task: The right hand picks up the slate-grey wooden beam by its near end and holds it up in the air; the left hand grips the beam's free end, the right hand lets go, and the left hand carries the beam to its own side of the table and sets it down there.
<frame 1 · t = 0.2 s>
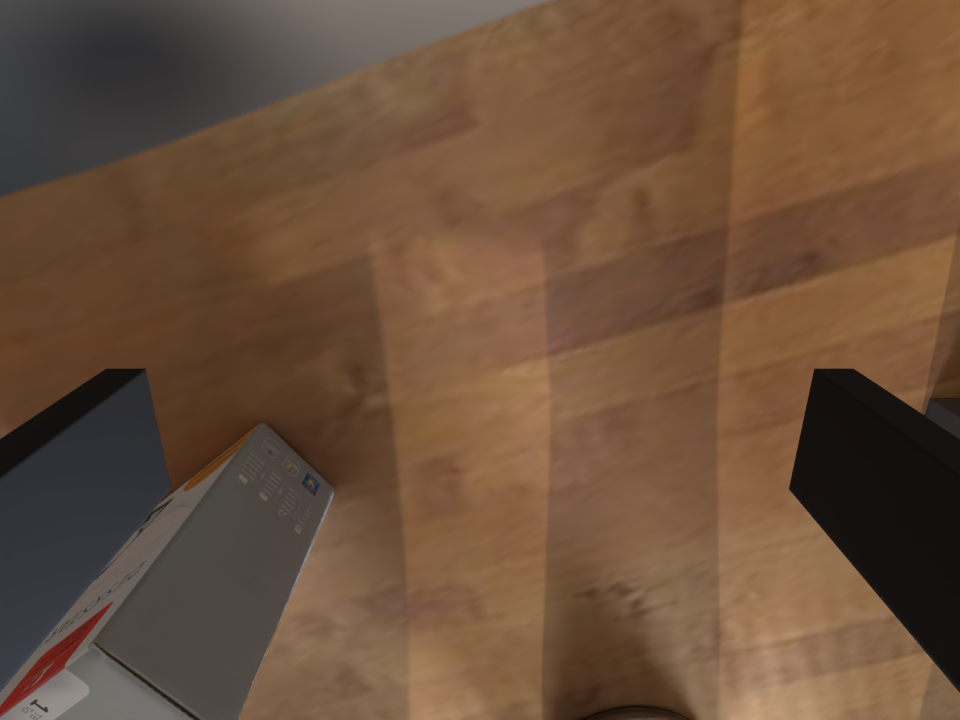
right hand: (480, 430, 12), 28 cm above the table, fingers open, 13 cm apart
hard drive box: (228, 509, 46), on the table
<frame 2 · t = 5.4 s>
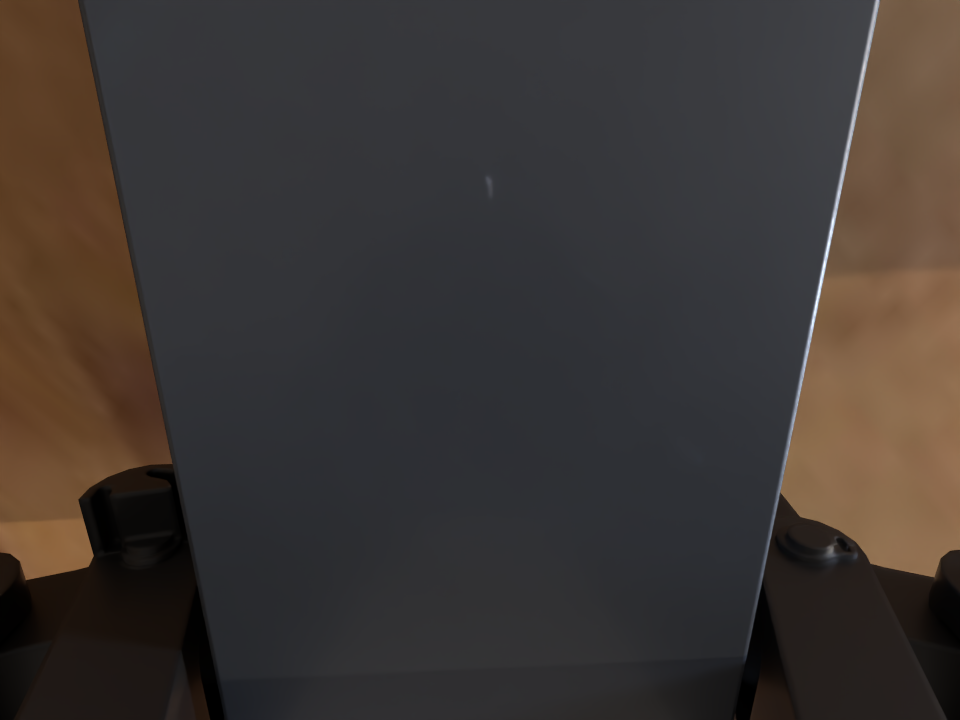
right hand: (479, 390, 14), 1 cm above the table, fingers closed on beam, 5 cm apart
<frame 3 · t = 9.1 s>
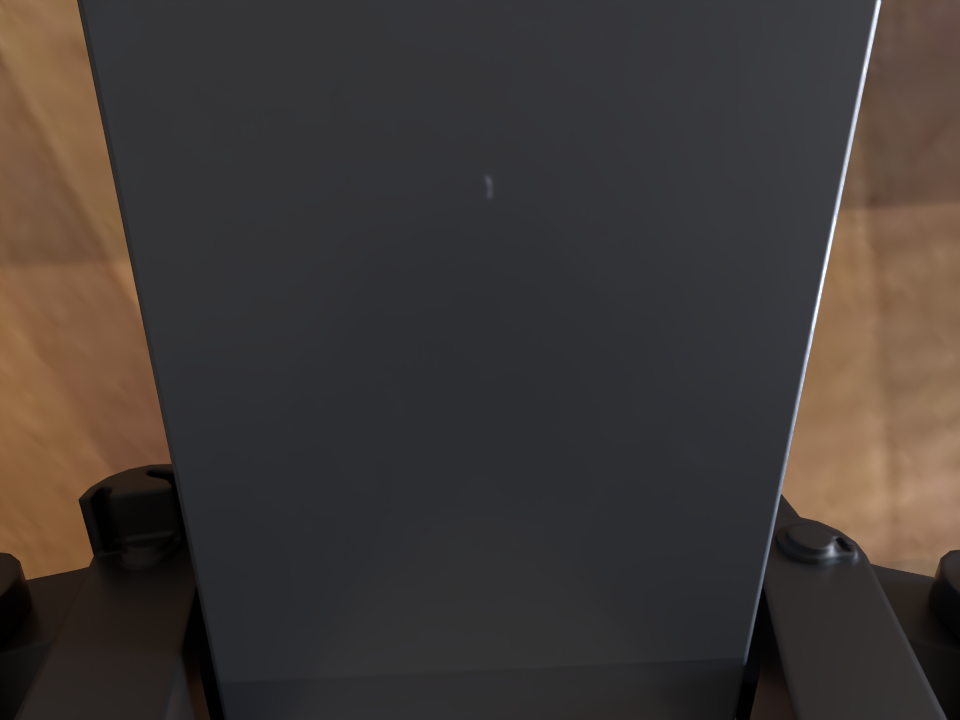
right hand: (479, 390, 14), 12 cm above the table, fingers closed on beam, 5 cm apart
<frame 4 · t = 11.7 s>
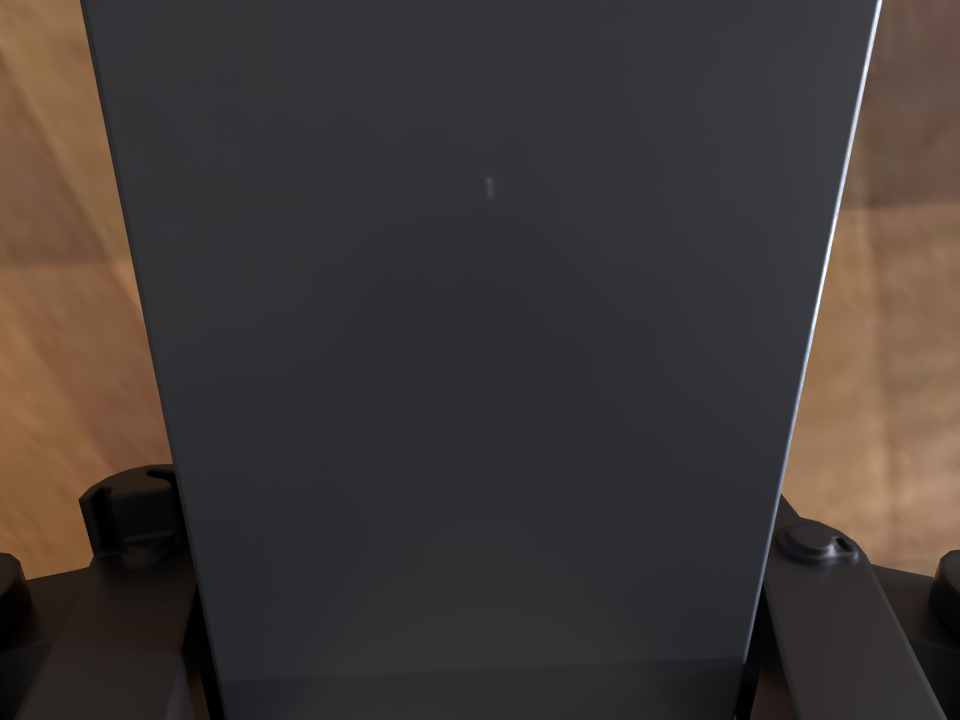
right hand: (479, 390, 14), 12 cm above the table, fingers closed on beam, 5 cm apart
when the right hand's fingers open (12 cm above the table, at t = 12.8 s): beam stays where it is, held by the left hand.
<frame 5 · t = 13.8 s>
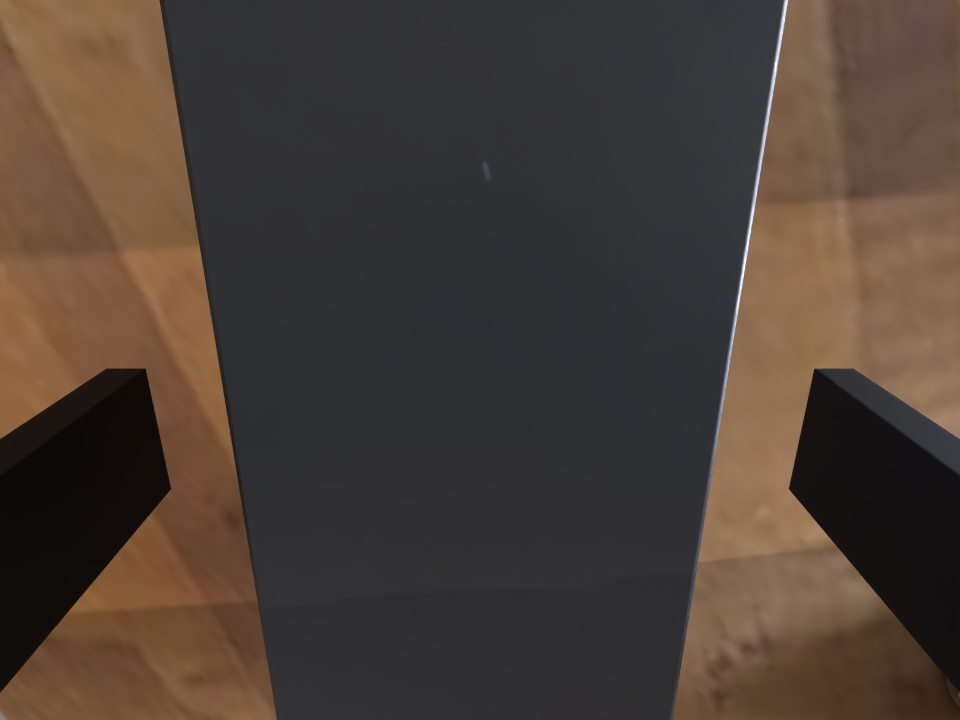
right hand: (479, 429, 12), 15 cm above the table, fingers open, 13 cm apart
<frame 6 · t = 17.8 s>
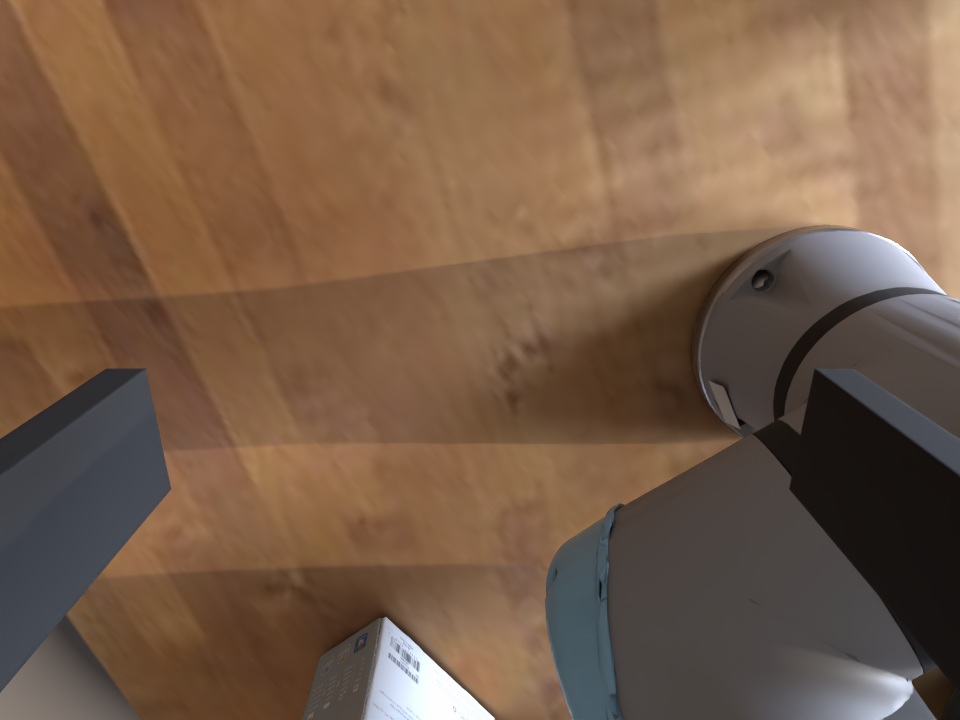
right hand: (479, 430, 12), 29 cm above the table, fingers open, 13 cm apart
hard drive box: (410, 685, 54), on the table
when the left hand's fingers open (6 cm above the table, at t = 23.8 s): beam stays where it is, on the table.
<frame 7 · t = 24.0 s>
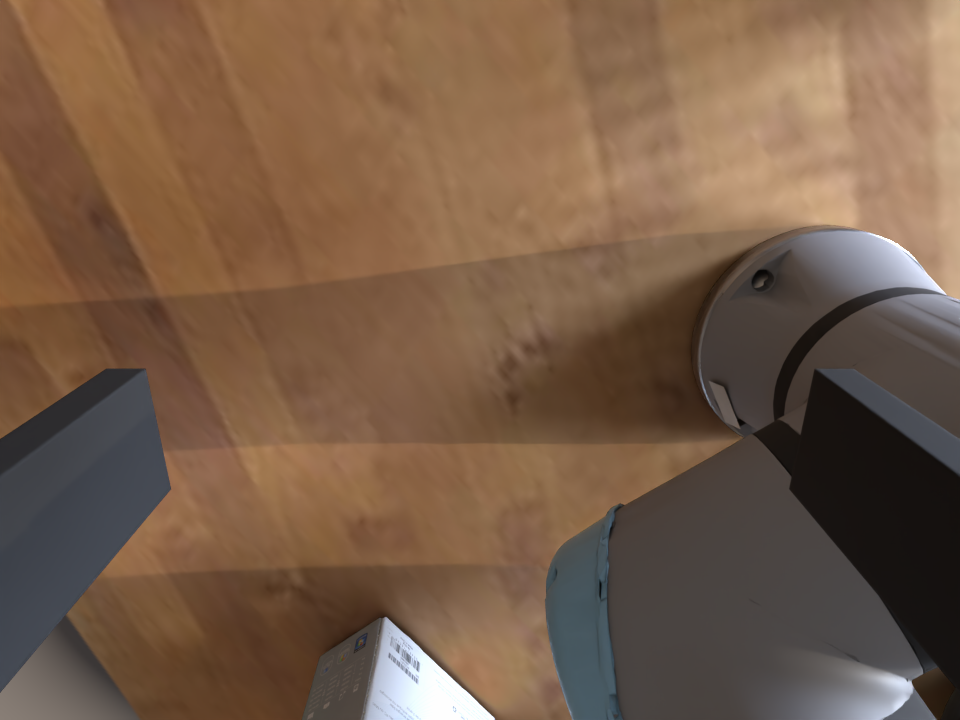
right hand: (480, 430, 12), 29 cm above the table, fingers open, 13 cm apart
hard drive box: (410, 685, 54), on the table
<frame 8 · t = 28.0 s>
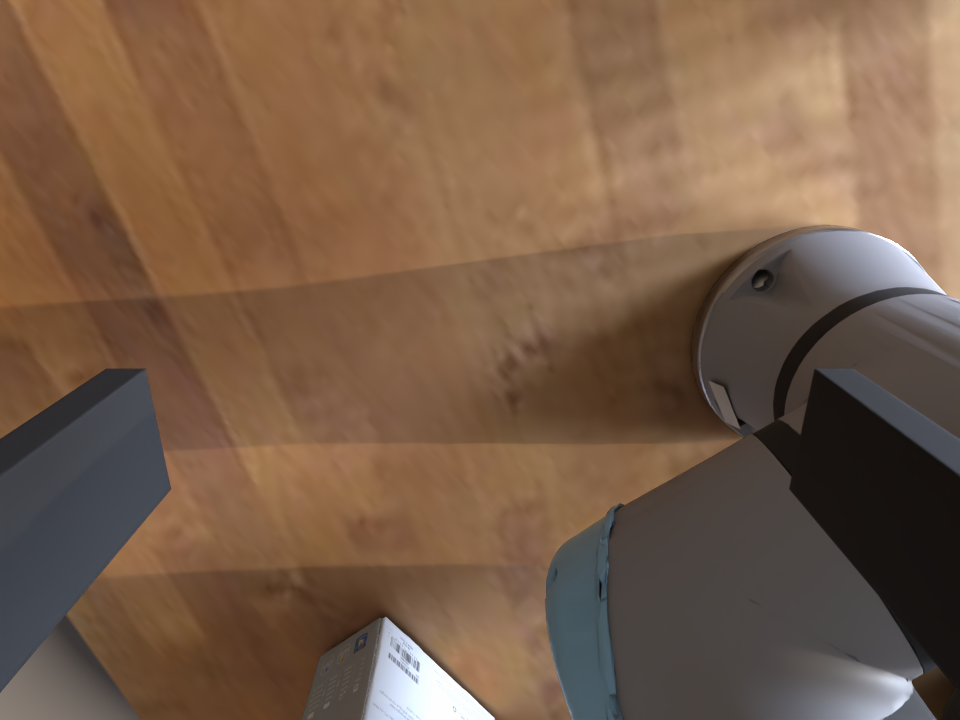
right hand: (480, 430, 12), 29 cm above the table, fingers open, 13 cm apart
hard drive box: (410, 685, 54), on the table
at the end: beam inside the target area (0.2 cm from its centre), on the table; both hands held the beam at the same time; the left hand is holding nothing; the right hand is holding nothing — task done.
